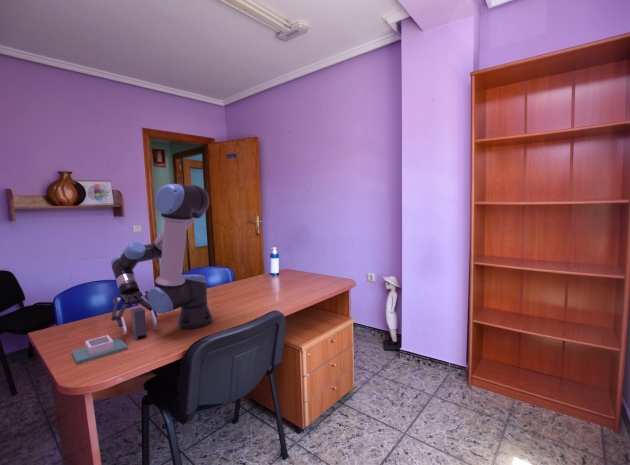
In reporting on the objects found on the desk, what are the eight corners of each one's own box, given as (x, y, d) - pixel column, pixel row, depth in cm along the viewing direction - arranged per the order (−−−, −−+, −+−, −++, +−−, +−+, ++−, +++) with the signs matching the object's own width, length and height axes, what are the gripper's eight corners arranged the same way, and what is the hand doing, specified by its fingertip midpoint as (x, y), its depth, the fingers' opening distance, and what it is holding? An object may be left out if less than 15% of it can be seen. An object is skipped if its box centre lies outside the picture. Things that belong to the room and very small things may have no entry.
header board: (119, 340, 131) (119, 330, 131) (127, 349, 123) (126, 338, 122) (72, 354, 120) (70, 343, 120) (76, 364, 112) (75, 353, 111)
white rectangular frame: (158, 314, 162) (146, 307, 175) (158, 315, 162) (146, 308, 175) (179, 309, 170) (166, 302, 183) (179, 310, 170) (166, 303, 183)
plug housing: (143, 334, 137) (141, 307, 136) (147, 337, 134) (144, 309, 133) (133, 337, 135) (130, 309, 134) (136, 340, 131) (134, 312, 130)
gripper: (154, 285, 152) (168, 324, 142) (96, 296, 136) (107, 341, 126) (156, 276, 148) (171, 316, 138) (97, 286, 131) (109, 332, 122)
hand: (141, 328), depth 132 cm, fingers open, 11 cm apart
